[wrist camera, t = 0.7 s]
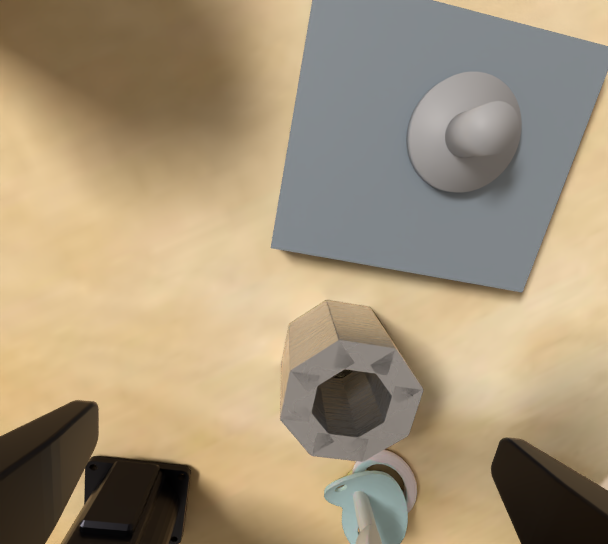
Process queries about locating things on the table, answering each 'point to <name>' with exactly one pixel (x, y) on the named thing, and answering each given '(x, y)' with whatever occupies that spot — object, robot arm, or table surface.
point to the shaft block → (432, 138)
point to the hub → (345, 384)
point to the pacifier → (374, 500)
